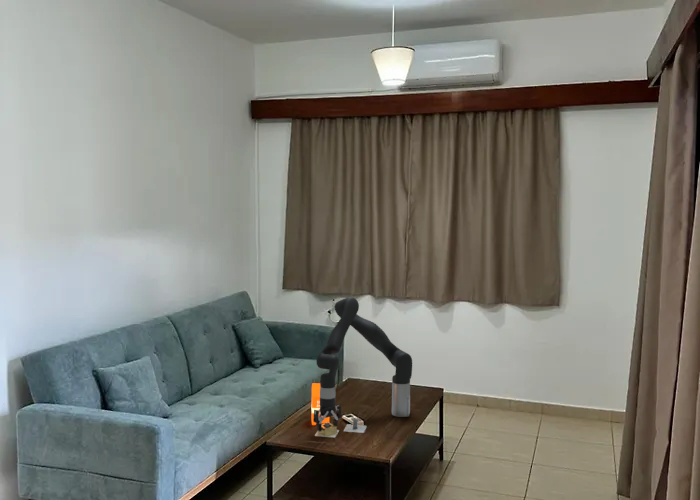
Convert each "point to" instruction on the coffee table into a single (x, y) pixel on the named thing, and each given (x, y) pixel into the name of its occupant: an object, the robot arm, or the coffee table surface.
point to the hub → (329, 435)
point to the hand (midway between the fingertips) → (327, 429)
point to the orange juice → (316, 401)
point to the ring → (328, 430)
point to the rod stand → (355, 427)
